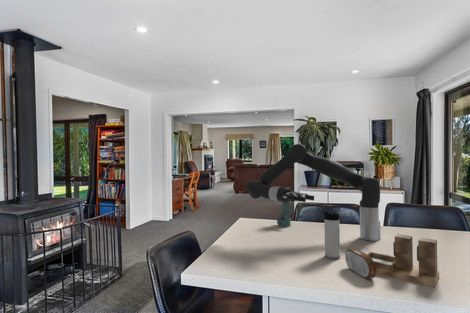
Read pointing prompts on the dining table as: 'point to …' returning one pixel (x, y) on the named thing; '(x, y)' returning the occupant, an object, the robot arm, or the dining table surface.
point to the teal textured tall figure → (285, 210)
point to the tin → (360, 263)
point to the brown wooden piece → (409, 261)
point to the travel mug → (332, 235)
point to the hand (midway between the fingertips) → (309, 199)
